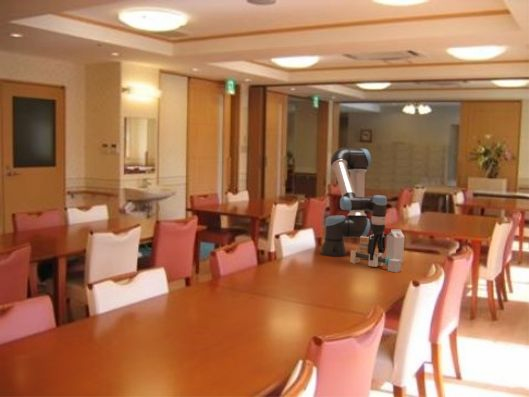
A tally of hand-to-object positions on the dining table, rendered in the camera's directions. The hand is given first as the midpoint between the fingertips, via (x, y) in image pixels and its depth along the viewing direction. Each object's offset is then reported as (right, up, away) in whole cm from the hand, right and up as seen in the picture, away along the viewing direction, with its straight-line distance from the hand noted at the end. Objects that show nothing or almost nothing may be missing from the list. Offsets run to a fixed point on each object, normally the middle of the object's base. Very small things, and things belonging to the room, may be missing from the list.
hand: (375, 265), depth 312 cm
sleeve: (0, 0, 0) cm, 0 cm away
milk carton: (+14, 0, +17) cm, 22 cm away
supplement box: (-1, +1, +21) cm, 21 cm away
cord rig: (-1, -1, +1) cm, 1 cm away
